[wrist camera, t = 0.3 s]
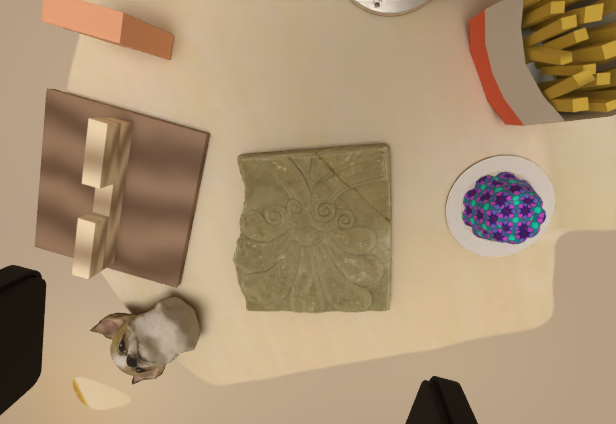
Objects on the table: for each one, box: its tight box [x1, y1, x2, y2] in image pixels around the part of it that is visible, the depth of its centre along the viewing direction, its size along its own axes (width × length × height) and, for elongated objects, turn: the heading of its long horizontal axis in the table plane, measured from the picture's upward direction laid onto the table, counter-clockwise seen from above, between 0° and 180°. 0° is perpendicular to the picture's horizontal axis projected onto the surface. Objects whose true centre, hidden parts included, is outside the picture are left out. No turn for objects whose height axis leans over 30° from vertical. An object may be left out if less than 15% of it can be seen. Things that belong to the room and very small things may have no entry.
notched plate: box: [42, 0, 174, 60], centre depth 36 cm, size 2×7×10 cm, turn 75°
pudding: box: [446, 155, 555, 257], centre depth 41 cm, size 12×12×5 cm
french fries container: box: [469, 0, 616, 125], centre depth 30 cm, size 5×11×18 cm, turn 26°
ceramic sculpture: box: [90, 297, 200, 384], centre depth 47 cm, size 11×9×15 cm
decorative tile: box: [233, 144, 391, 313], centre depth 44 cm, size 19×20×4 cm
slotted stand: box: [35, 89, 210, 288], centre depth 43 cm, size 20×19×6 cm
